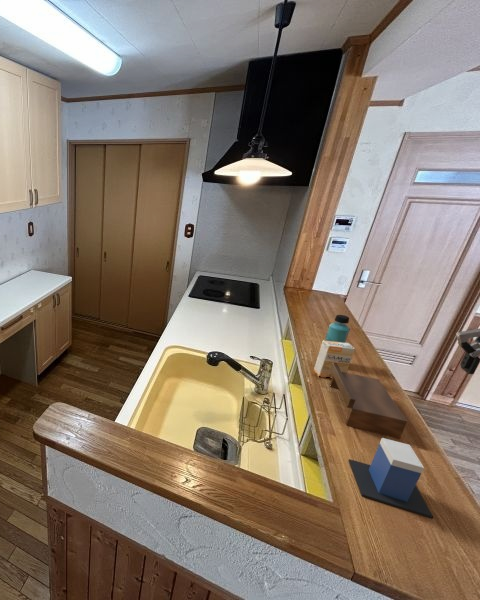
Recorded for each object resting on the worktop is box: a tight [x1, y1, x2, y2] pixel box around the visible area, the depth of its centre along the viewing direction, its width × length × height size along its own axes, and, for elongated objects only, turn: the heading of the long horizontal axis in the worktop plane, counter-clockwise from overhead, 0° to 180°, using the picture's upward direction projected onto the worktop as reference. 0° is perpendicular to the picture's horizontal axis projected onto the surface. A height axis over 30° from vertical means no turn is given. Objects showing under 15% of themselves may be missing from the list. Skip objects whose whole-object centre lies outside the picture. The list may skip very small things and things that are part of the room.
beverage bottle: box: [324, 314, 351, 343], centre depth 123 cm, size 6×7×20 cm
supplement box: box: [313, 339, 356, 379], centre depth 116 cm, size 8×5×13 cm, turn 76°
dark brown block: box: [329, 362, 408, 440], centre depth 100 cm, size 13×22×9 cm, turn 154°
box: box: [369, 437, 425, 502], centre depth 73 cm, size 5×7×10 cm
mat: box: [348, 458, 434, 520], centre depth 75 cm, size 12×11×1 cm
